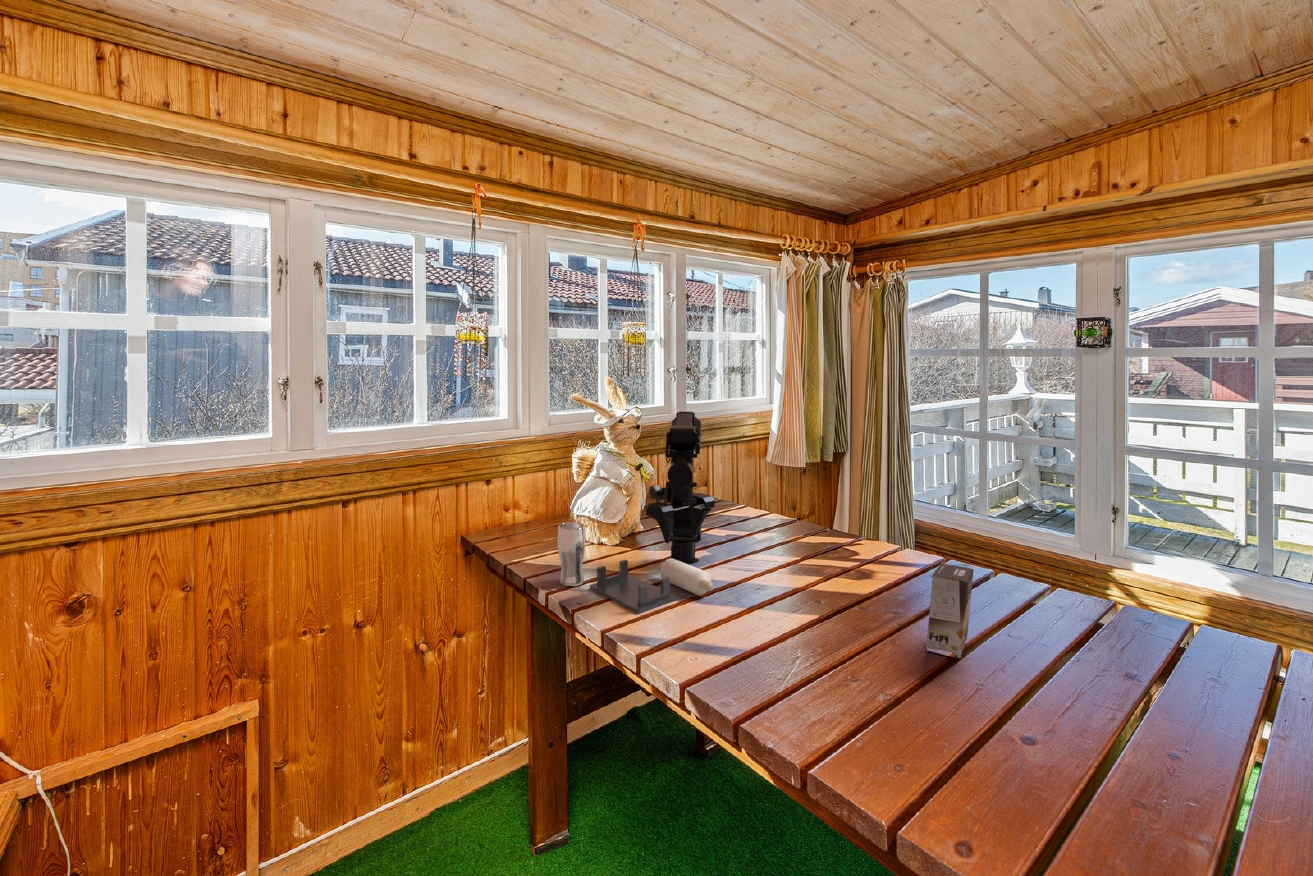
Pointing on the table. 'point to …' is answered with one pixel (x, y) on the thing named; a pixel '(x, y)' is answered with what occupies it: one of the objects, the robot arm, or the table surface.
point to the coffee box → (950, 608)
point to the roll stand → (632, 590)
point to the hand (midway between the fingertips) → (680, 539)
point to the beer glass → (571, 552)
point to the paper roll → (686, 576)
